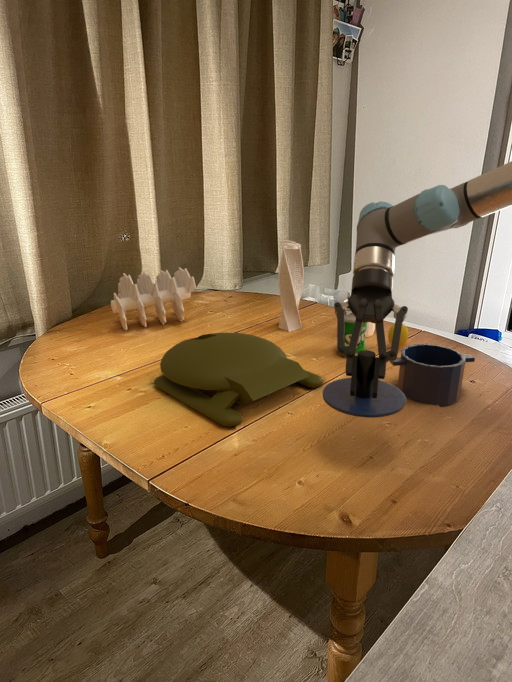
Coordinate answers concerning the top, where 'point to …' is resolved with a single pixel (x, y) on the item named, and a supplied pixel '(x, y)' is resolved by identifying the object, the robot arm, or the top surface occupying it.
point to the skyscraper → (290, 285)
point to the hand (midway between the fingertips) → (363, 394)
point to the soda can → (348, 329)
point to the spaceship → (228, 373)
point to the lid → (364, 392)
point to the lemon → (403, 335)
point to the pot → (431, 373)
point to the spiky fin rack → (153, 294)
